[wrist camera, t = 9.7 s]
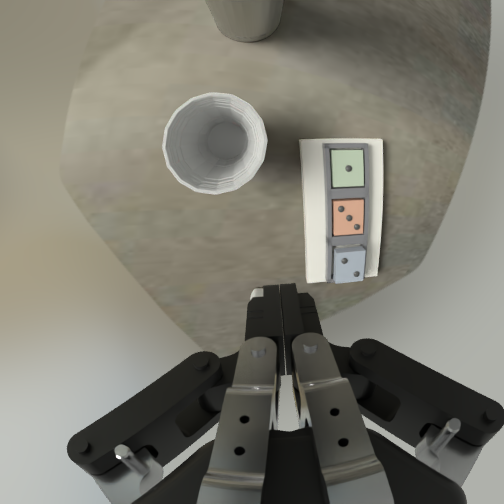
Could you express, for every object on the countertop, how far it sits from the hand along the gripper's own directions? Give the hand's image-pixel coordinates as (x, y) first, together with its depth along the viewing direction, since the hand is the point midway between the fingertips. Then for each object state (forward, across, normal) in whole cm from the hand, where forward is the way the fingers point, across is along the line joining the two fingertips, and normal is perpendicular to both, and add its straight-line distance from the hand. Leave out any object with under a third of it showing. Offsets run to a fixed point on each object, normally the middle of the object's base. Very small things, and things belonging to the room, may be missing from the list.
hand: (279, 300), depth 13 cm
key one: (+27, -11, -2) cm, 29 cm away
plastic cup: (+29, +5, -7) cm, 30 cm away
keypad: (+29, -11, +5) cm, 31 cm away
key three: (+27, -11, +5) cm, 29 cm away
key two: (+25, -11, +12) cm, 30 cm away
